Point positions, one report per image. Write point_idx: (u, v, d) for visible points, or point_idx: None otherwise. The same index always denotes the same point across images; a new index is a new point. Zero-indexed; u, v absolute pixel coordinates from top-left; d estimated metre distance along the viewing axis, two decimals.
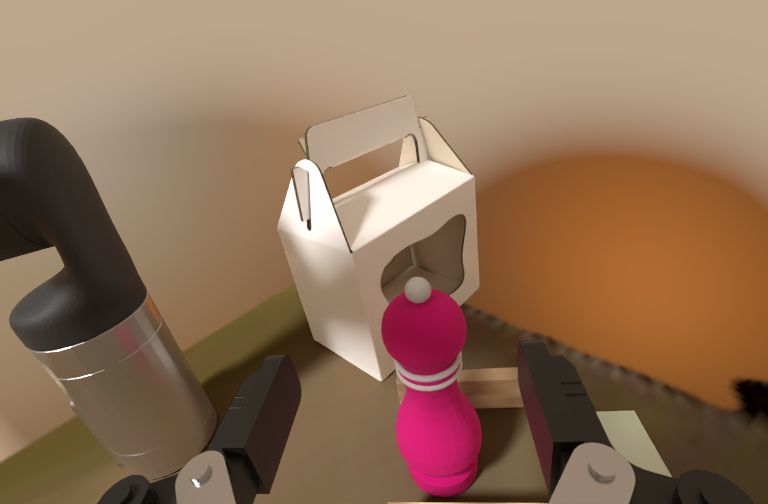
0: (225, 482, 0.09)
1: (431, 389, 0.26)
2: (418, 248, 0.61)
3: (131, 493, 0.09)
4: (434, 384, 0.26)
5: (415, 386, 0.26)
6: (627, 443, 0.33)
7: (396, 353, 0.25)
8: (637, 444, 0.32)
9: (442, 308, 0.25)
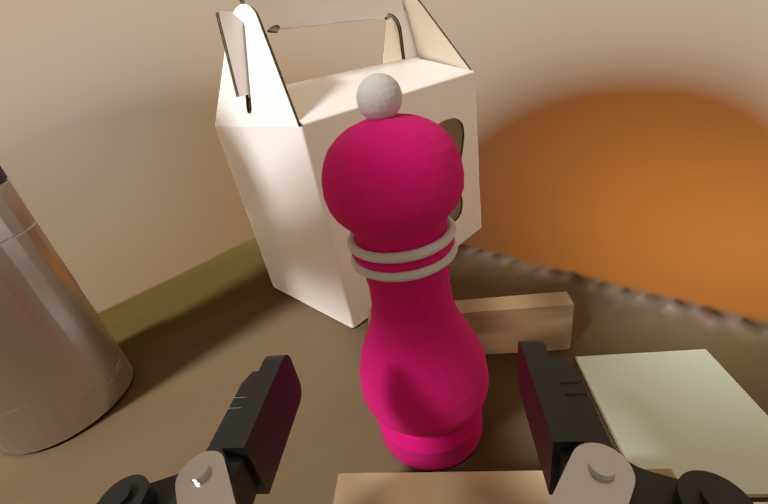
0: (225, 482, 0.09)
1: (405, 277, 0.15)
2: None
3: (131, 493, 0.09)
4: (410, 268, 0.15)
5: (379, 274, 0.16)
6: (704, 391, 0.22)
7: (342, 203, 0.14)
8: (720, 391, 0.22)
9: (420, 124, 0.14)
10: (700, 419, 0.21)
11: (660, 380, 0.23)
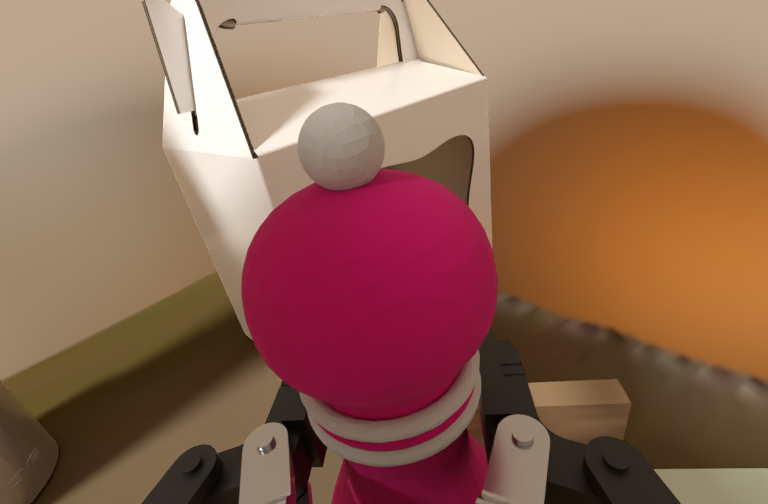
0: (291, 450, 0.10)
1: (391, 462, 0.09)
2: None
3: (201, 461, 0.10)
4: (400, 448, 0.09)
5: (346, 451, 0.09)
6: None
7: (268, 353, 0.07)
8: None
9: (420, 202, 0.07)
10: None
11: None
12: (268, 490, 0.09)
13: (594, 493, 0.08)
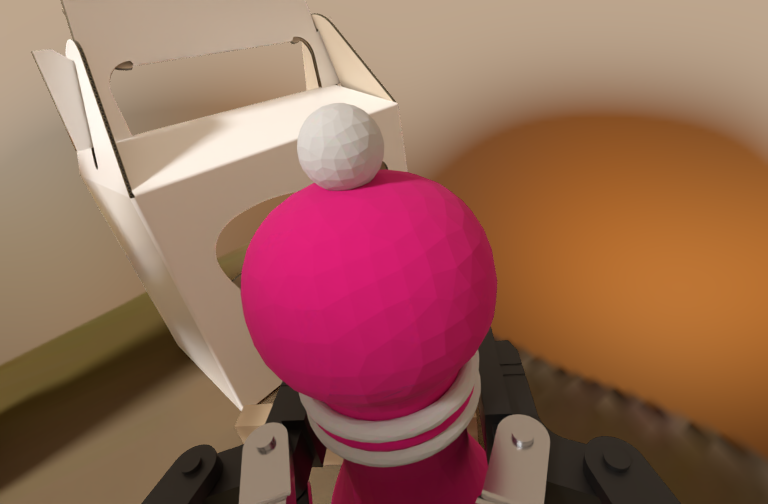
0: (291, 451, 0.10)
1: (391, 462, 0.09)
2: None
3: (201, 461, 0.10)
4: (399, 449, 0.09)
5: (345, 451, 0.09)
6: None
7: (267, 354, 0.07)
8: None
9: (419, 203, 0.07)
10: None
11: None
12: (268, 490, 0.09)
13: (594, 493, 0.08)
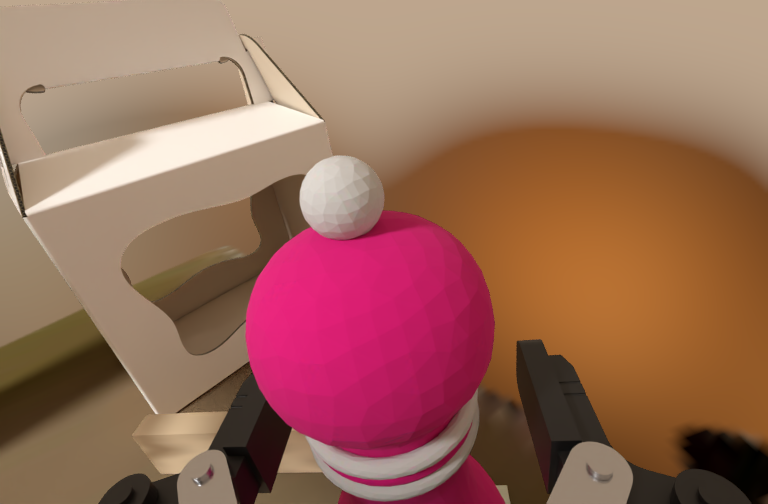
0: (227, 481, 0.09)
1: (392, 497, 0.09)
2: (294, 232, 0.47)
3: (133, 492, 0.09)
4: (400, 484, 0.09)
5: (348, 485, 0.09)
6: None
7: (272, 400, 0.08)
8: None
9: (419, 254, 0.07)
10: None
11: None
12: None
13: None
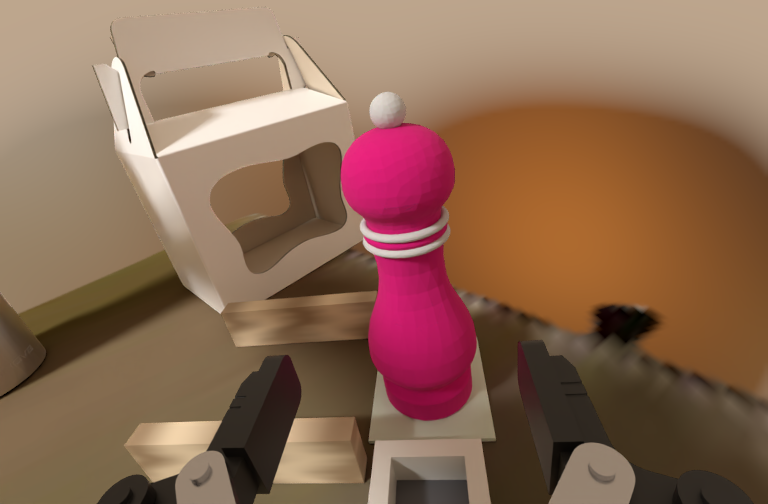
0: (225, 482, 0.09)
1: (407, 254, 0.19)
2: (317, 196, 0.57)
3: (131, 493, 0.09)
4: (411, 247, 0.19)
5: (386, 252, 0.20)
6: None
7: (358, 194, 0.18)
8: None
9: (420, 132, 0.18)
10: None
11: None
12: None
13: None
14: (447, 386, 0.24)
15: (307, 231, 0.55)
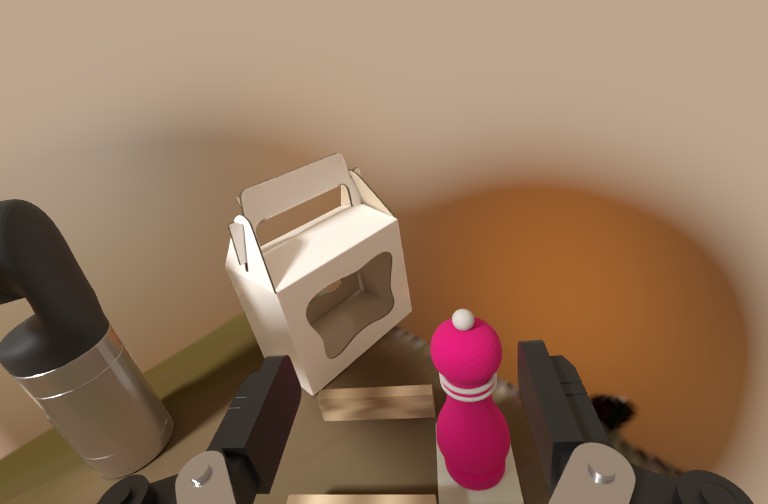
0: (225, 482, 0.09)
1: (473, 400, 0.32)
2: (363, 274, 0.69)
3: (131, 493, 0.09)
4: (475, 396, 0.32)
5: (459, 397, 0.32)
6: None
7: (446, 371, 0.30)
8: None
9: (483, 335, 0.30)
10: None
11: None
12: None
13: None
14: None
15: (356, 304, 0.68)
